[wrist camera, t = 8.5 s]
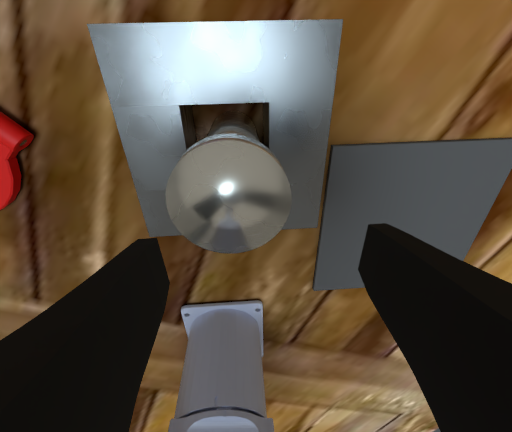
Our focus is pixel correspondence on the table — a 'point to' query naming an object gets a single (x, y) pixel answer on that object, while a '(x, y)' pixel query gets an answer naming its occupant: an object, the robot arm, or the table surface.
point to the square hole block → (220, 97)
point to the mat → (406, 198)
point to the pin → (229, 189)
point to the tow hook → (11, 158)
